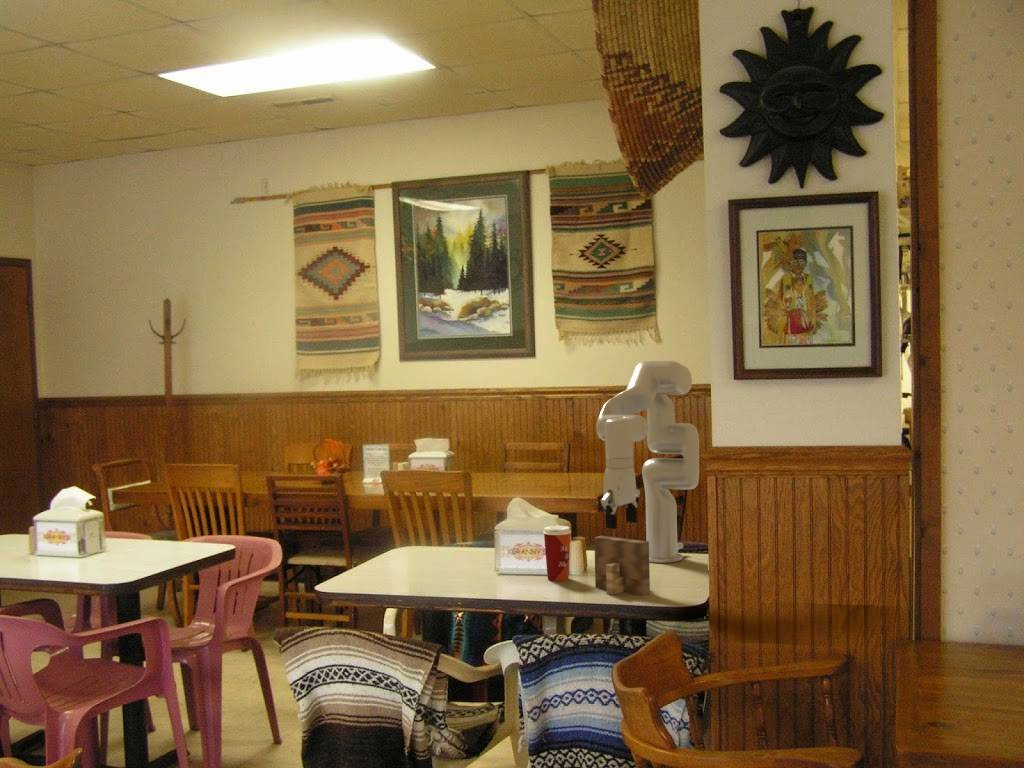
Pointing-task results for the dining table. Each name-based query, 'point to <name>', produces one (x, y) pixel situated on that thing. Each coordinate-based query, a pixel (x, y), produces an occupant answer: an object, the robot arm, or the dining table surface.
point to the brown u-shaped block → (614, 579)
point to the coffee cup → (557, 552)
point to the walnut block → (623, 562)
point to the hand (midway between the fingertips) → (621, 525)
